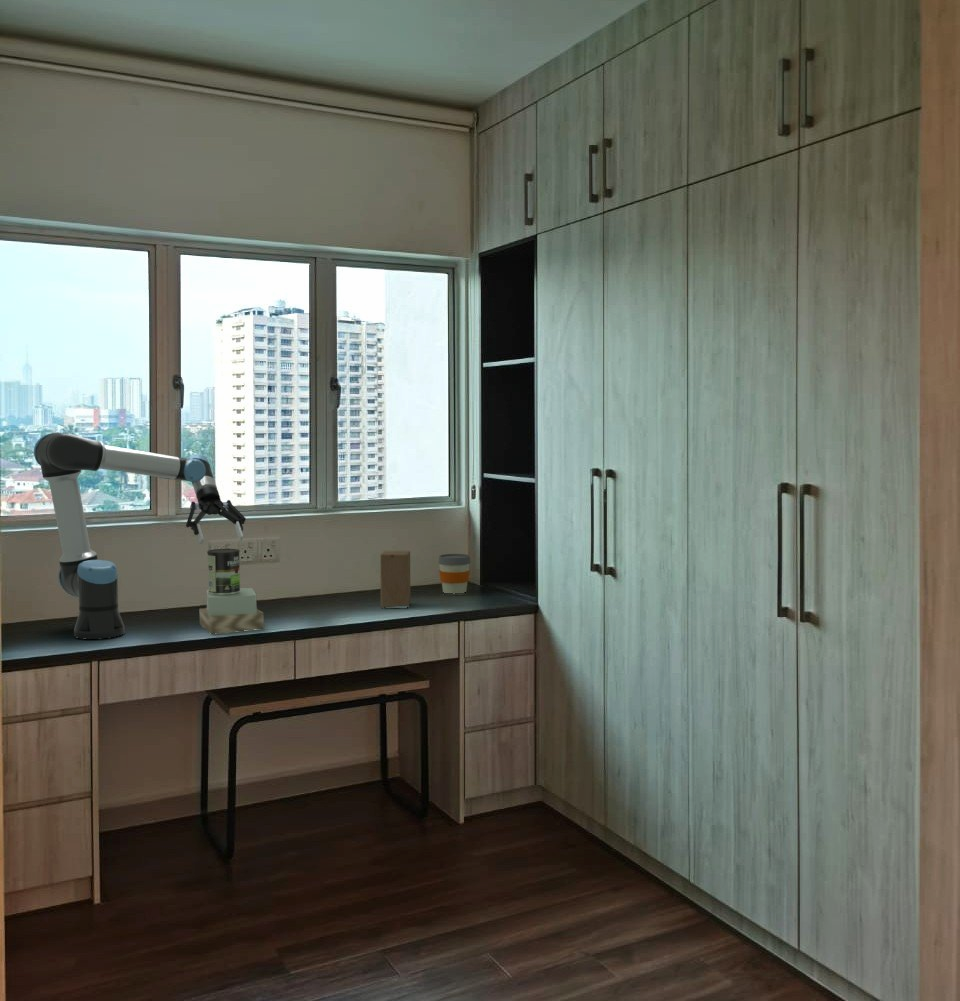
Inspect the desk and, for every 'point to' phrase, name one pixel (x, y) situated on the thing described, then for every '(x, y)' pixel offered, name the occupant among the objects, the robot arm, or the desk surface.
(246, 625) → the birch base slab
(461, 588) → the reusable coffee cup
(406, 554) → the wooden block
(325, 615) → the desk surface
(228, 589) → the coffee can
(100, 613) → the robot arm
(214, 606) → the sage top slab
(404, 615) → the desk surface
